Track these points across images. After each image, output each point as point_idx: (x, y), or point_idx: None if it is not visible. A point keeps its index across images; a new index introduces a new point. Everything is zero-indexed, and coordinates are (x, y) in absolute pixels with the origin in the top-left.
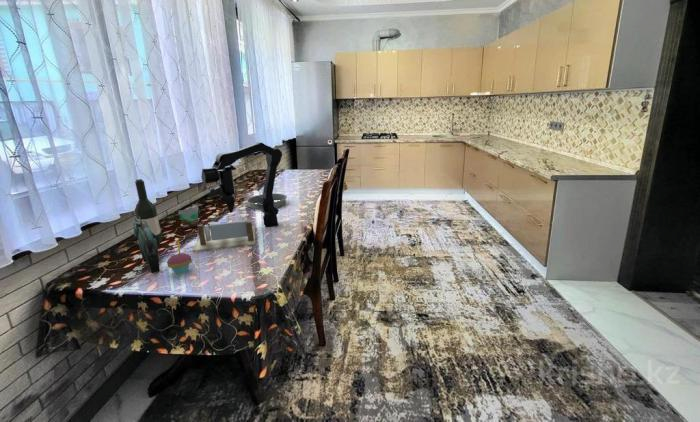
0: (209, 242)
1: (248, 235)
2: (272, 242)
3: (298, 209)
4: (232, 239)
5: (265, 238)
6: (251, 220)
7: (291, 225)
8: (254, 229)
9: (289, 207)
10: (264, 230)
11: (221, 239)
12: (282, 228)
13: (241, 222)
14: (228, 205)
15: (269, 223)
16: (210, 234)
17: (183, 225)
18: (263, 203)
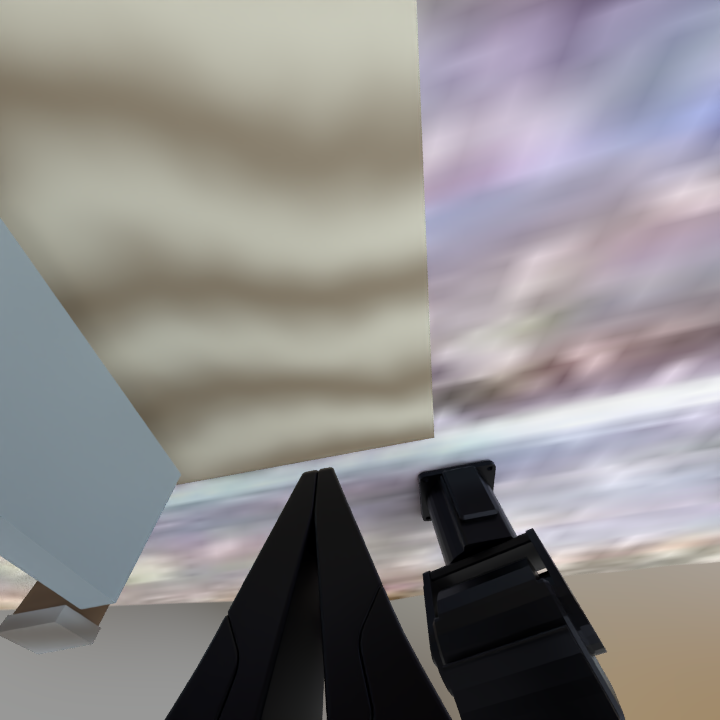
0: (5, 153)
1: None
2: (170, 537)
3: (645, 540)
4: (144, 362)
5: (227, 504)
6: (76, 646)
7: (408, 554)
8: (357, 447)
9: (716, 506)
10: (363, 477)
11: (127, 268)
12: (374, 535)
13: (45, 579)
14: (217, 679)
15: (431, 503)
16: (277, 71)
17: None
18: (457, 703)
